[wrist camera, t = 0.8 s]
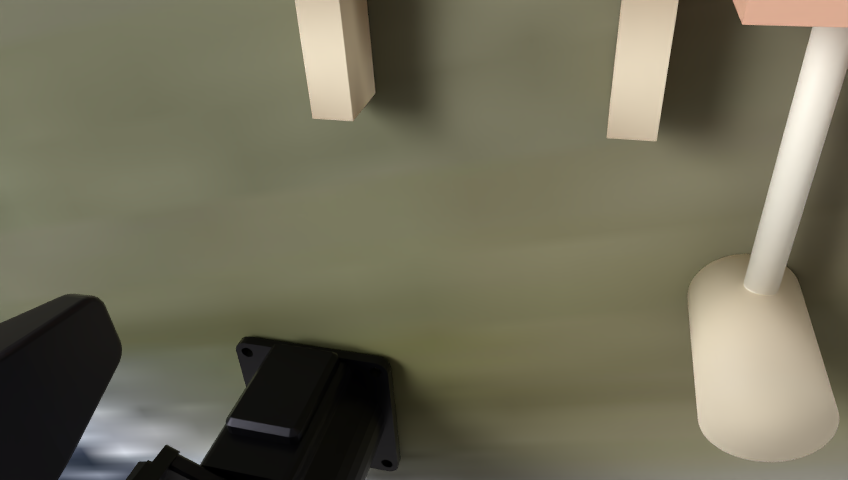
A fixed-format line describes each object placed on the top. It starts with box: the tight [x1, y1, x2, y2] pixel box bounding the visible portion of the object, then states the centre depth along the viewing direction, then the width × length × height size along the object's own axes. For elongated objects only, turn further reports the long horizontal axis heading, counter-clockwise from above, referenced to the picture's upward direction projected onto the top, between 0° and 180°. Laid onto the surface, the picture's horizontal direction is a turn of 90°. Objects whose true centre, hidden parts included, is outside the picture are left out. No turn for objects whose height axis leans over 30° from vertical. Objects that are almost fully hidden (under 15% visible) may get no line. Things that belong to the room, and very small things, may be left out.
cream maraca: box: [687, 0, 848, 462], centre depth 15 cm, size 16×5×5 cm, turn 3°
